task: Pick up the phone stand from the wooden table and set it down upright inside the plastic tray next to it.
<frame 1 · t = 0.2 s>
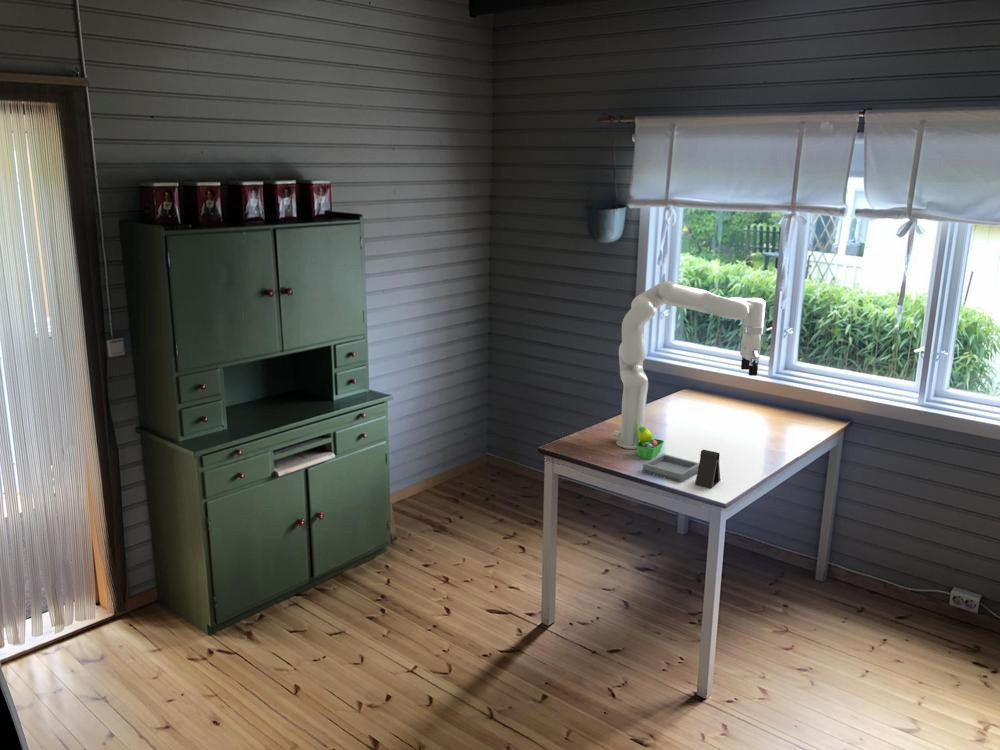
hand: (748, 372, 318), 31 cm above the table, tool pointing down, fingers open, 9 cm apart
phone stand: (707, 483, 287), on the table
fruit basket: (647, 455, 315), on the table
tray: (671, 471, 297), on the table
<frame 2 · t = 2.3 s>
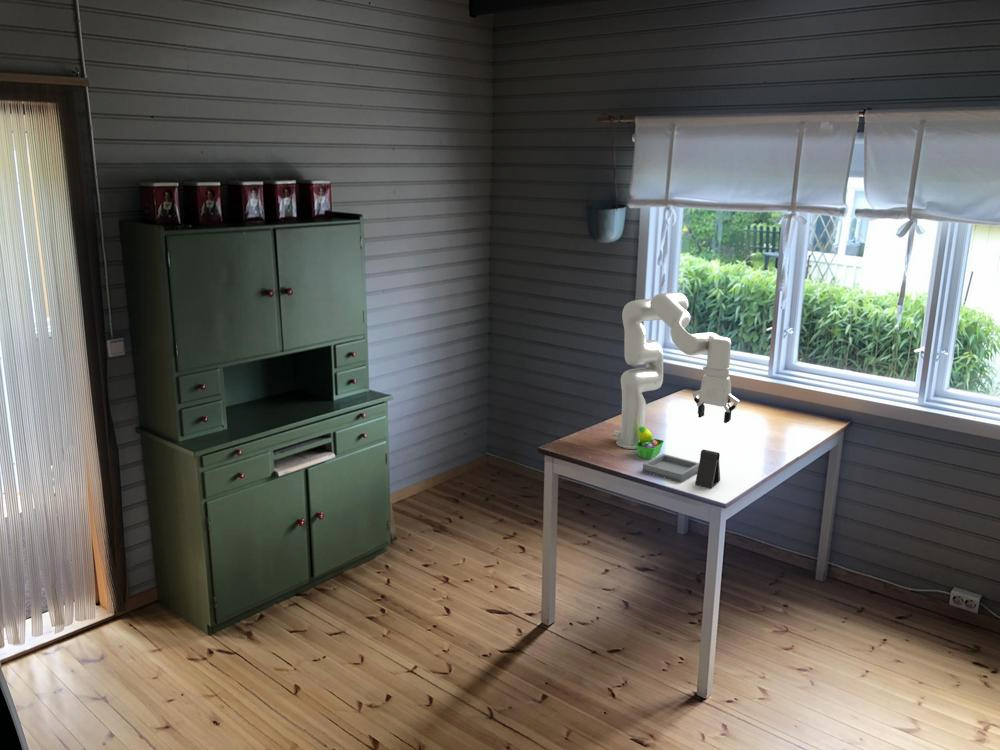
hand: (713, 419, 282), 24 cm above the table, tool pointing down, fingers open, 9 cm apart
nothing on the table moved.
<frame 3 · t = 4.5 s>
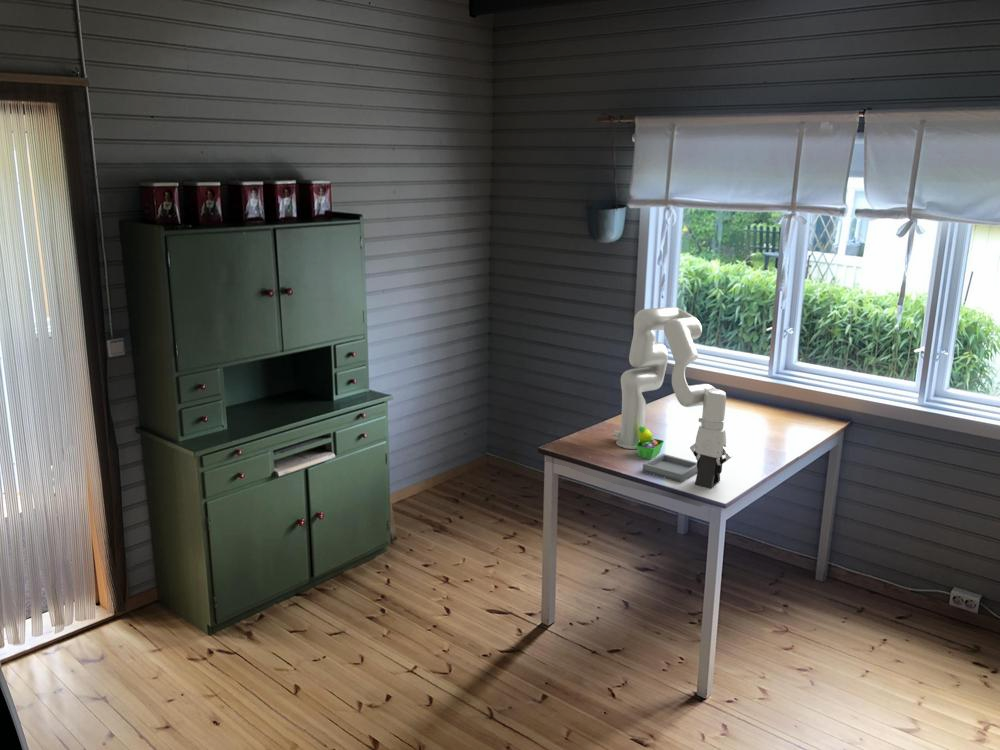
hand: (708, 471, 286), 4 cm above the table, tool pointing down, fingers closed on phone stand, 6 cm apart
phone stand: (707, 483, 287), on the table, touching gripper
everything else where it was.
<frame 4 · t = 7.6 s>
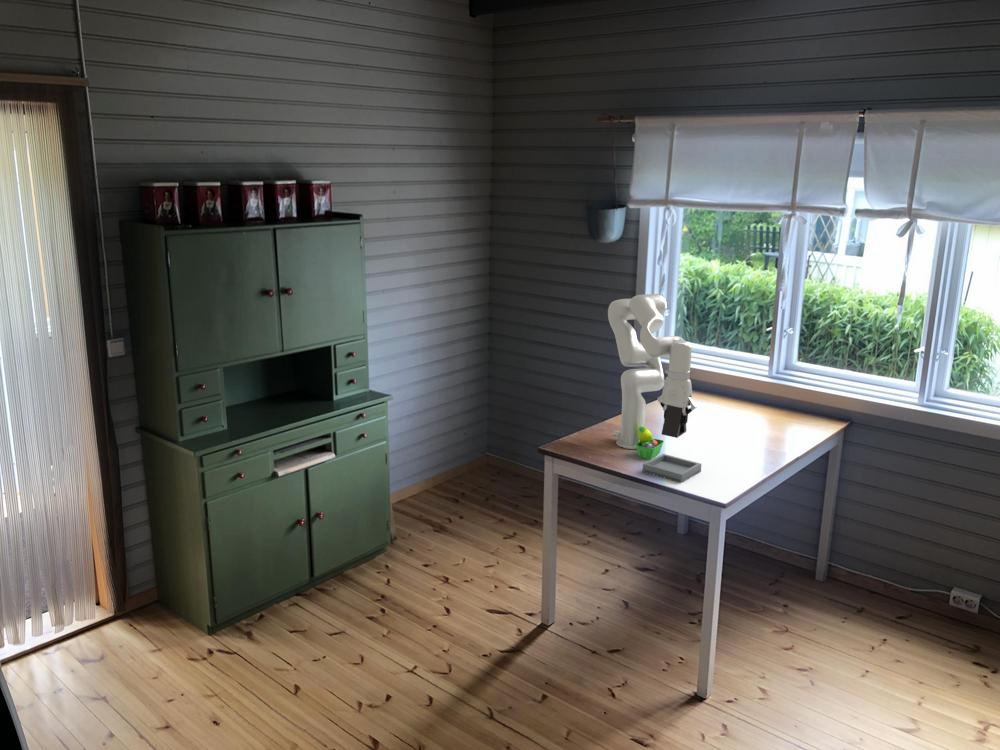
hand: (675, 422, 293), 19 cm above the table, tool pointing down, fingers closed on phone stand, 6 cm apart
phone stand: (673, 433, 294), point 15 cm above the table, touching gripper
everything else where it was.
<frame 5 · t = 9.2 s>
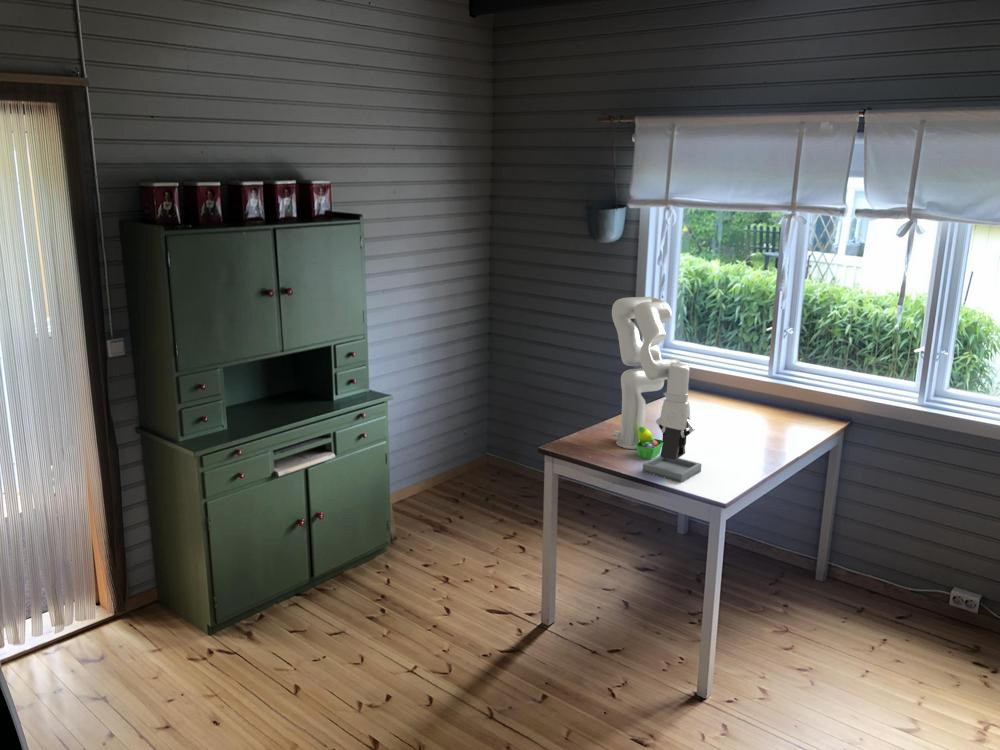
hand: (673, 444, 295), 11 cm above the table, tool pointing down, fingers closed on phone stand, 6 cm apart
phone stand: (672, 455, 295), point 6 cm above the table, touching gripper
everything else where it was.
when the fingers open (6 cm above the table, at t = 10.5 s): phone stand drops 1 cm, resting on tray.
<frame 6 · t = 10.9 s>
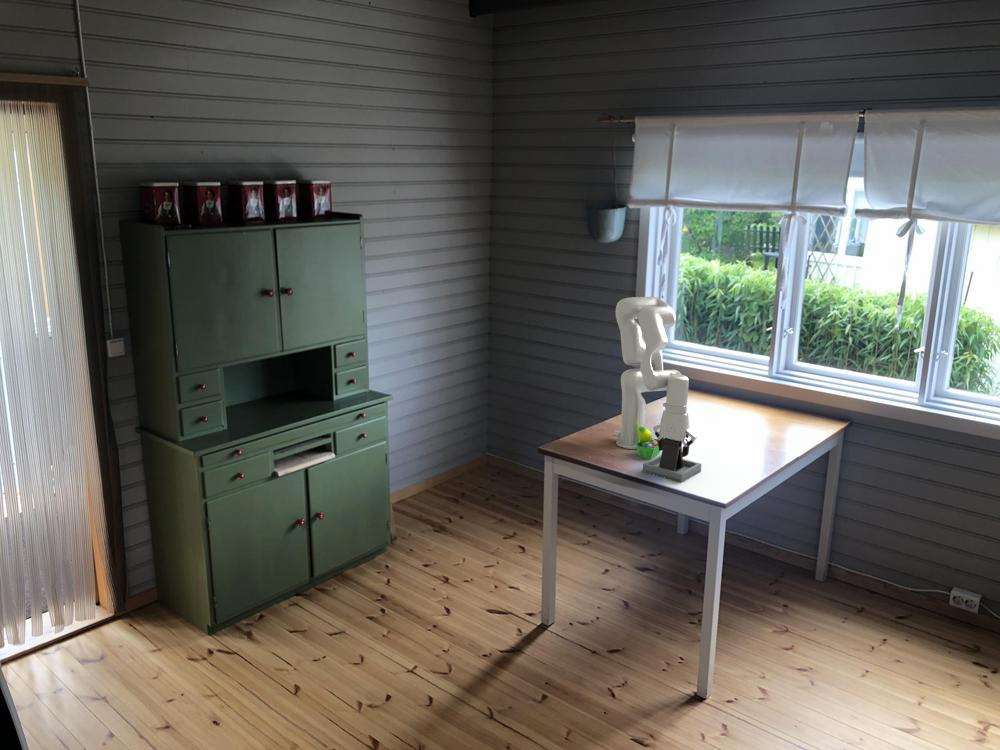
hand: (673, 452, 296), 7 cm above the table, tool pointing down, fingers open, 9 cm apart
phone stand: (670, 469, 297), point 1 cm above the table, touching tray
everything else where it was.
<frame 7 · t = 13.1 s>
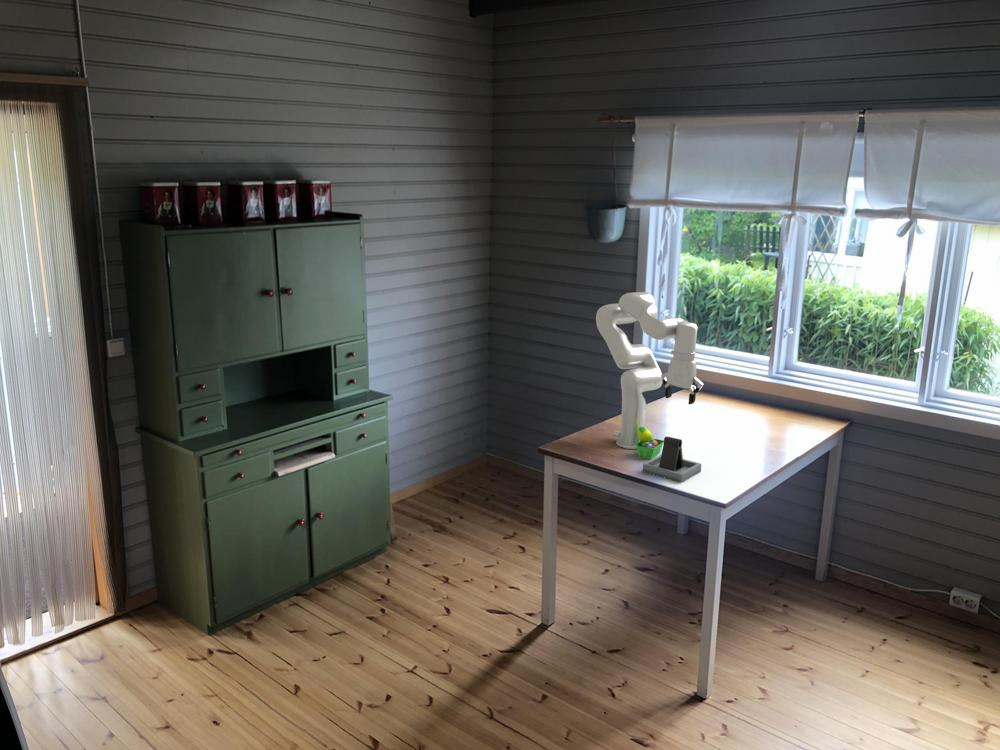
hand: (679, 400, 298), 25 cm above the table, tool pointing down, fingers open, 9 cm apart
nothing on the table moved.
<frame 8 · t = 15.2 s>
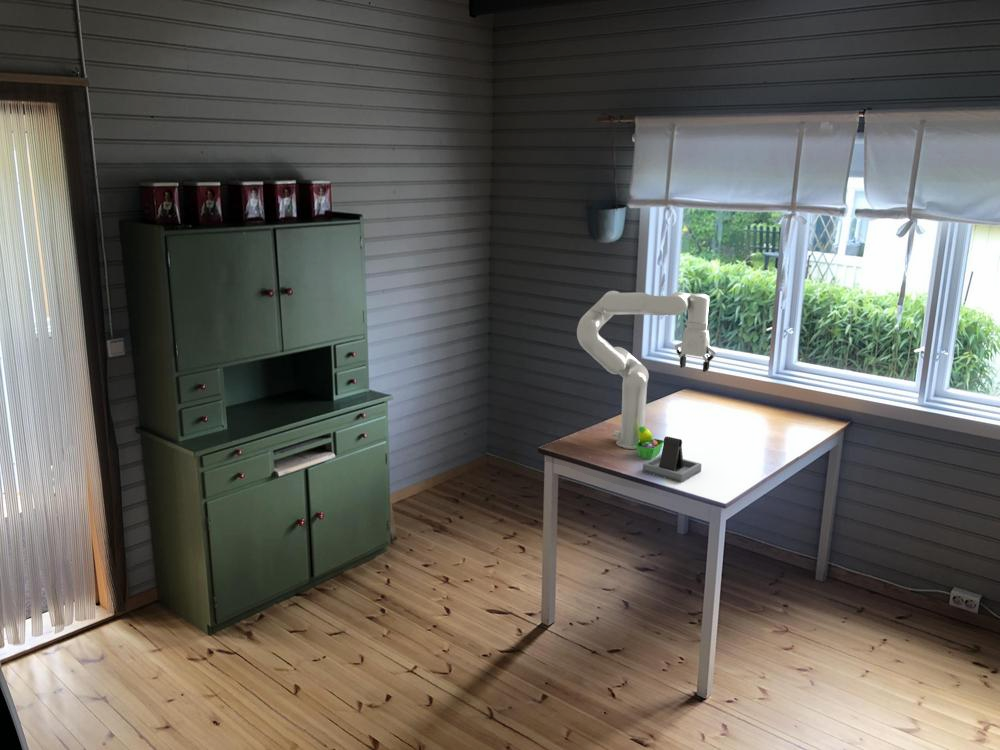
hand: (694, 369, 313), 33 cm above the table, tool pointing down, fingers open, 9 cm apart
nothing on the table moved.
at the end: phone stand inside the target area on the tray (0.4 cm from its centre), point 0.8 cm above the tray's base; phone stand tilted 0°; the gripper is holding nothing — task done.
